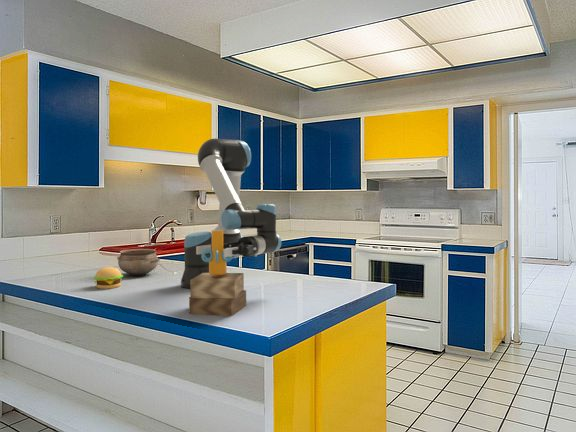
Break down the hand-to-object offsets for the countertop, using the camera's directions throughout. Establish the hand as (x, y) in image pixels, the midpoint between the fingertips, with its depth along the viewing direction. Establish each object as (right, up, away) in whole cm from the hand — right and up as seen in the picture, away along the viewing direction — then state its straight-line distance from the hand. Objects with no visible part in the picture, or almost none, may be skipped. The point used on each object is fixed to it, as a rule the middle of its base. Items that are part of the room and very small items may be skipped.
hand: (210, 251), depth 155 cm
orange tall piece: (+2, -8, +3) cm, 9 cm away
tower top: (+2, -15, +4) cm, 16 cm away
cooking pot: (-49, -18, +74) cm, 90 cm away
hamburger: (-52, -19, +45) cm, 71 cm away
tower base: (+2, -21, +5) cm, 22 cm away
